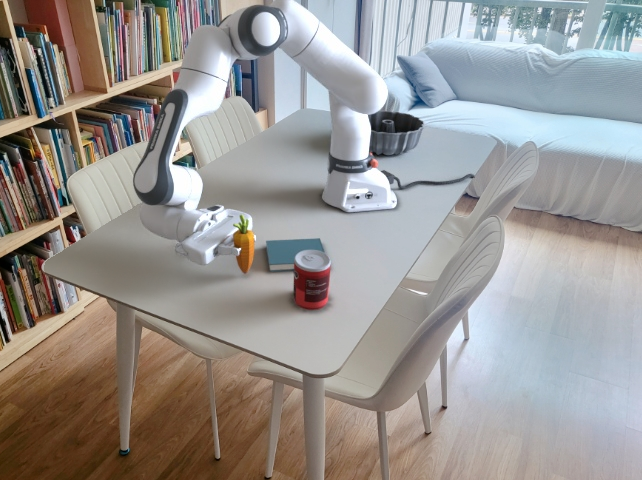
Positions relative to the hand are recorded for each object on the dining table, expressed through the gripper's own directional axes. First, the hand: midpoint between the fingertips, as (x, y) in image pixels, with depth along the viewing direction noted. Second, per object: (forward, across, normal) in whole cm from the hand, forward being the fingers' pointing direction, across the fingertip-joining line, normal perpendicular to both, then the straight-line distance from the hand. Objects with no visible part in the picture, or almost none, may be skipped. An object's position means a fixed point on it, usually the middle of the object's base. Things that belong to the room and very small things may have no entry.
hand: (247, 245), depth 119 cm
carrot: (-1, 0, +8) cm, 8 cm away
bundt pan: (-3, +97, +9) cm, 98 cm away
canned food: (+17, 0, +9) cm, 19 cm away
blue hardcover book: (+6, +13, +9) cm, 17 cm away
